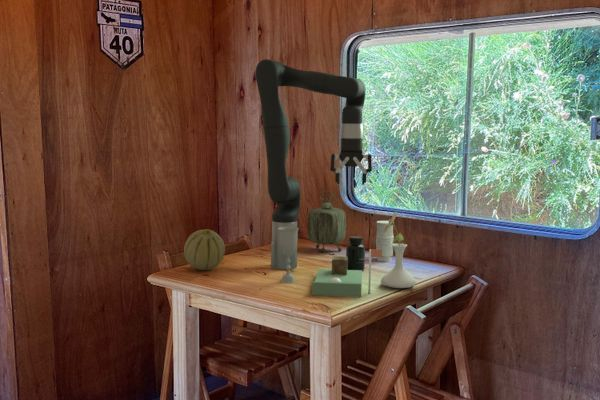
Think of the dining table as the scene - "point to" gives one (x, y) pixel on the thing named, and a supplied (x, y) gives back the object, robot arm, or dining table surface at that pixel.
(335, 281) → the ball
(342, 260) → the wooden channel cradle
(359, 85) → the robot arm
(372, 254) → the flag pin
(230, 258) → the dining table surface
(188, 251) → the cantaloupe
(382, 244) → the candle
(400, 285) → the flower in vase
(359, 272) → the green
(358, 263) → the supplement bottle
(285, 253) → the chalice
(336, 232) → the tabletop clock
